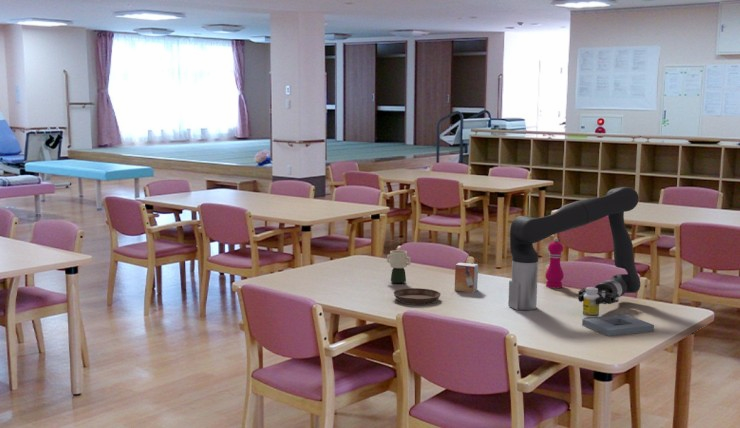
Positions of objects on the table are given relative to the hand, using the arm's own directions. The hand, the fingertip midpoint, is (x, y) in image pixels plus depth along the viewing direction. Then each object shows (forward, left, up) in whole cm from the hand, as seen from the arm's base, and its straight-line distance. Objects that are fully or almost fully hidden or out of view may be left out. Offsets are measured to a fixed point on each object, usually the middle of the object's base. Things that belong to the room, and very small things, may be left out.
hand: (588, 300), depth 281 cm
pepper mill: (+18, +47, -7) cm, 51 cm away
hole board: (+3, -12, -7) cm, 14 cm away
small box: (-19, +53, -7) cm, 57 cm away
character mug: (-39, +74, -7) cm, 84 cm away
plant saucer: (-44, +45, -7) cm, 63 cm away
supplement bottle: (+2, +1, -6) cm, 7 cm away
